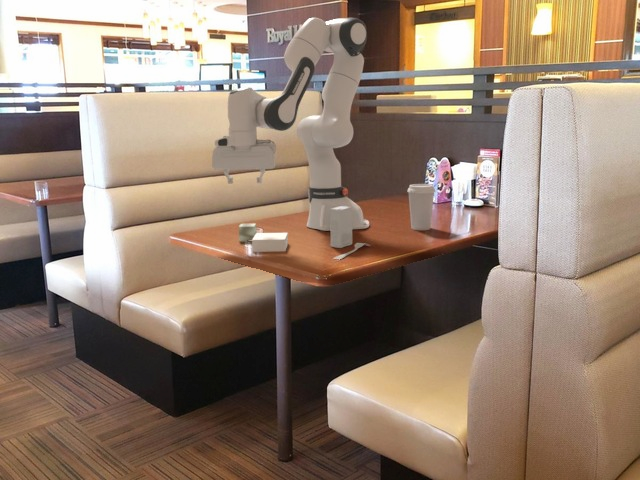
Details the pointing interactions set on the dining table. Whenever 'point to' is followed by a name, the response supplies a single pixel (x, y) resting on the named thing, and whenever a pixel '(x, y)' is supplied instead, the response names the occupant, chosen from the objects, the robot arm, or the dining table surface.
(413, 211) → the coffee cup
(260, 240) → the painted block
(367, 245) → the fork
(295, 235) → the dining table surface
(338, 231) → the skincare box
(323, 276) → the dining table surface
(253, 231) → the sage cube
